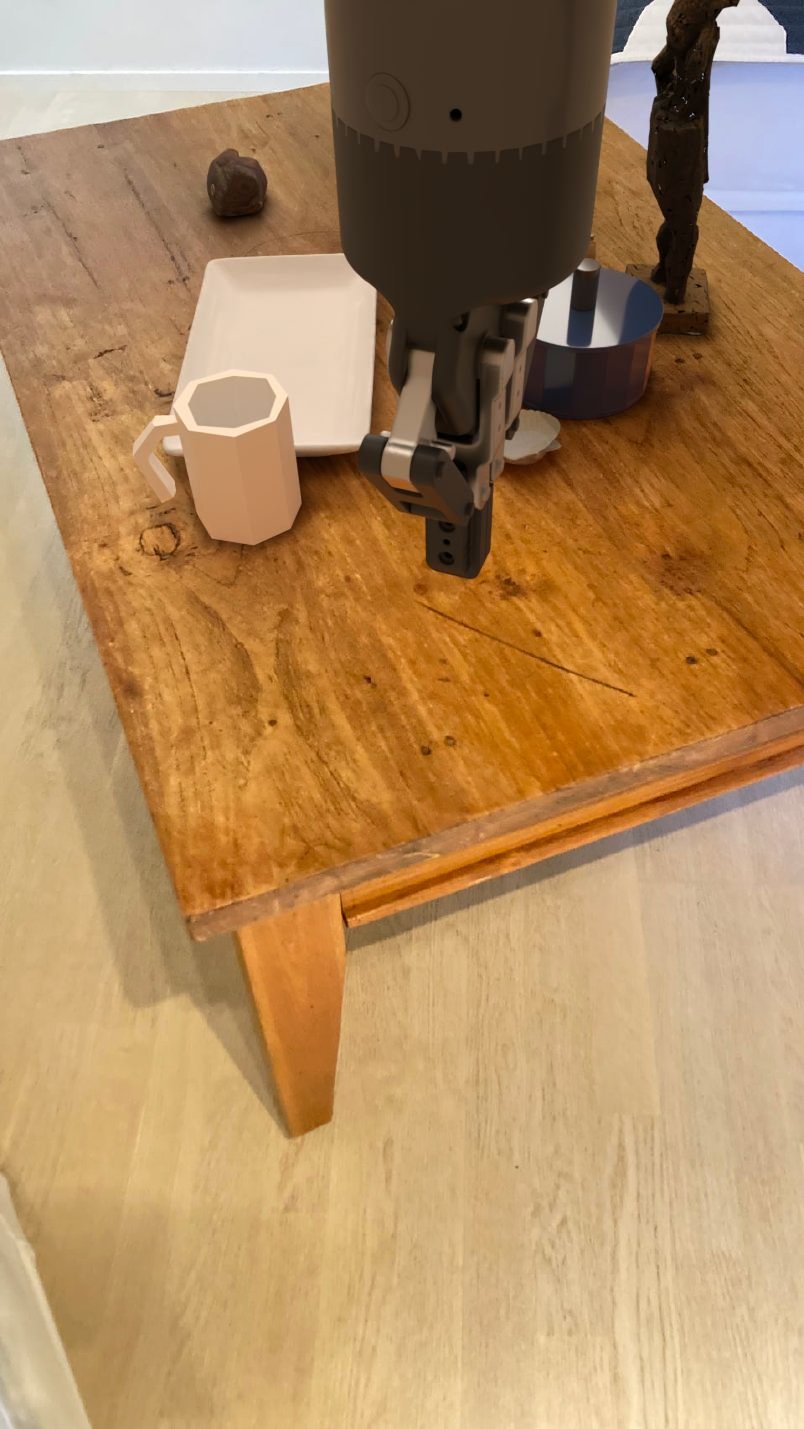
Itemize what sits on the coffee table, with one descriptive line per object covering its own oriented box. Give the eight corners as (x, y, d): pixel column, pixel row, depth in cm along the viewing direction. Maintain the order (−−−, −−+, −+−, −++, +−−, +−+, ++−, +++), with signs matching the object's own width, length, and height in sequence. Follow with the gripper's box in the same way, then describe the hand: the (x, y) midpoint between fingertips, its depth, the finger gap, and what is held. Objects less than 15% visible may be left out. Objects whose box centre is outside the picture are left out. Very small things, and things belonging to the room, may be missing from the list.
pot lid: (676, 291, 92) (685, 239, 88) (641, 372, 84) (650, 319, 80) (528, 267, 95) (531, 216, 92) (481, 343, 87) (483, 291, 84)
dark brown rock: (215, 136, 117) (216, 158, 109) (272, 161, 119) (276, 183, 112) (199, 191, 120) (199, 215, 113) (255, 213, 123) (258, 239, 115)
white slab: (165, 483, 86) (156, 447, 83) (212, 288, 106) (207, 254, 103) (372, 480, 85) (370, 444, 83) (380, 284, 106) (379, 250, 103)
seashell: (531, 436, 92) (446, 435, 89) (539, 402, 90) (453, 399, 87) (573, 477, 86) (483, 477, 83) (582, 441, 84) (491, 440, 81)
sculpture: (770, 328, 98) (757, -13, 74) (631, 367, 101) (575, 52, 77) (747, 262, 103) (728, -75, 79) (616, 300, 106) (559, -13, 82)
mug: (298, 471, 86) (285, 364, 79) (304, 540, 81) (291, 431, 73) (151, 485, 86) (123, 378, 78) (147, 555, 80) (117, 447, 73)
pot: (659, 354, 96) (671, 286, 91) (627, 431, 89) (639, 362, 84) (527, 331, 99) (531, 264, 94) (485, 404, 92) (487, 335, 87)
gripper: (531, 208, 24) (497, 707, 37) (658, 15, 32) (592, 484, 45) (233, 165, 26) (302, 654, 39) (422, -7, 33) (426, 449, 47)
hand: (458, 562), depth 42 cm, fingers closed
